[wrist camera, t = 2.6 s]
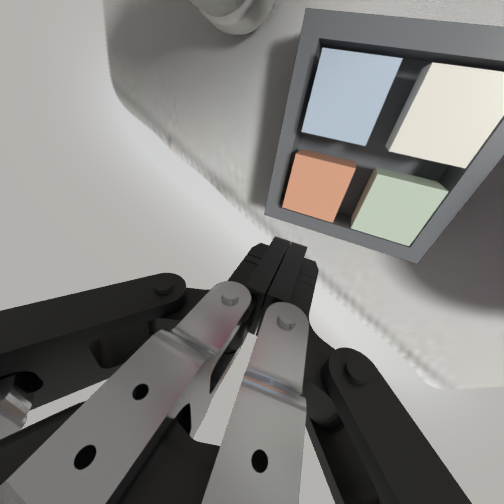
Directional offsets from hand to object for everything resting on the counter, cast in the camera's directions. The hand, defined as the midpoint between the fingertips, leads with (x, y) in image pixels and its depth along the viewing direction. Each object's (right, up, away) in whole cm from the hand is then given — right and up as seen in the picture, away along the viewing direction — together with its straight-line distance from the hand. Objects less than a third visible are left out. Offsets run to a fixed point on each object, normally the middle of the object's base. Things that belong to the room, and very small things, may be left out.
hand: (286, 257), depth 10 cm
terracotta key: (+4, +7, +9) cm, 12 cm away
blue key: (+5, +11, +6) cm, 14 cm away
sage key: (+10, +5, +8) cm, 14 cm away
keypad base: (+9, +9, +9) cm, 16 cm away
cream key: (+11, +9, +4) cm, 15 cm away
